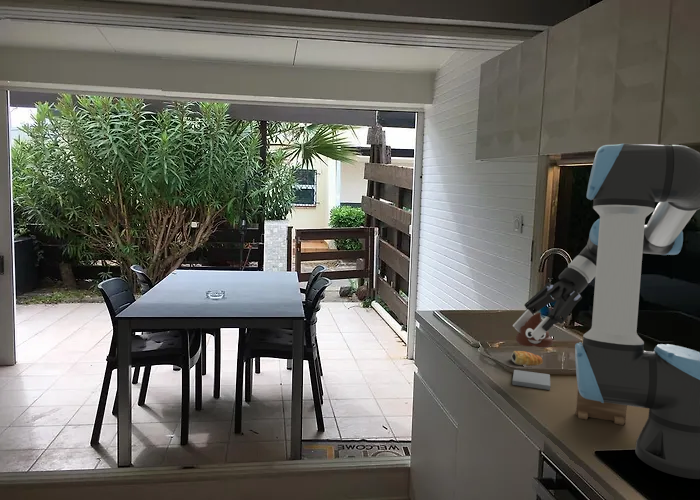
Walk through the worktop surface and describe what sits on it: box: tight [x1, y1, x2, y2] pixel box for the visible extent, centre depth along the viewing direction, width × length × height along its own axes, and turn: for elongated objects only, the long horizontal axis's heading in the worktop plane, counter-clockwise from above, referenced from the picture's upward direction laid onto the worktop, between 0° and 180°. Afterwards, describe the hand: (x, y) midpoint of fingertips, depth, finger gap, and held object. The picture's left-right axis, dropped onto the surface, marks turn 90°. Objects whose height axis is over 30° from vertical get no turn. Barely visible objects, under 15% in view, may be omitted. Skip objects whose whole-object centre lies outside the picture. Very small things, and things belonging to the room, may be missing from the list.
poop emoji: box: [515, 312, 554, 349], centre depth 160 cm, size 10×8×9 cm
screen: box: [575, 388, 628, 426], centre depth 137 cm, size 5×11×14 cm, turn 72°
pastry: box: [510, 350, 544, 367], centre depth 179 cm, size 9×7×4 cm
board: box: [511, 369, 551, 391], centre depth 161 cm, size 10×10×1 cm
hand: (524, 332), depth 159 cm, fingers closed on poop emoji, 8 cm apart
